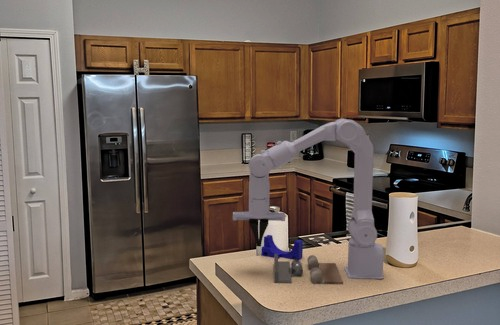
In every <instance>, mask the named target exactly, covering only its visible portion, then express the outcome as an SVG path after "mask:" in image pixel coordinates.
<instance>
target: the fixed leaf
mask: <svg viewBox="0 0 500 325" xmlns="http://www.w3.org/2000/svg"><path fill="white" fill-rule="evenodd" d="M306 262H307V265H308V269H310V272H309V274H310V278H311V281H312V282H313V284H315V285H343V284H344V281H343V279H342V276H341V273H340V271H339V269H338V266H337V264H336V263H335V262H319V260H318V258H317V256H316V255H313V254H312V255H309V256H308V257H307V260H306Z"/></svg>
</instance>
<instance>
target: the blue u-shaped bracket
mask: <svg viewBox="0 0 500 325" xmlns="http://www.w3.org/2000/svg"><path fill="white" fill-rule="evenodd" d="M273 237H274V236H273V235H271V234H268V235H265V236H263V246H261V257H262V256H263V257H265V256H266V257H268V258H272V259H274V254H278V260H279V259H280V258H283V259H288V260H292V261H294V260H299V261H301V259H303V250H304V249H303V245H304V241H303V239H297V240H295V241H294V242H293V247H292V249H291V250H289V251H285V250H282V249H280V248H279V247H278V246H277V245H276V243H275V242H274V238H273Z"/></svg>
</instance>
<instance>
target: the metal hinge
mask: <svg viewBox="0 0 500 325" xmlns="http://www.w3.org/2000/svg"><path fill="white" fill-rule="evenodd" d="M273 263H274V264H273V268H274V269H273V270H274V272H273V273H274V274H273V276H274V283H276V284H278V283H279V284H280V283H281V284H292V279H293V278H292V277H299V276H301V275H302V274H303V271H304V269H303V263H302V262H301V260H297V259H294V260H292V262H291V263H290V261H284V260H283V261H281V260H280V261H279V259H278V254H274V258H273Z"/></svg>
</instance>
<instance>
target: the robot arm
mask: <svg viewBox="0 0 500 325" xmlns="http://www.w3.org/2000/svg"><path fill="white" fill-rule="evenodd" d="M336 140H337V141H338V142H340V143H342V144H345V145H346V146H347V147H348V148H349V149H350V150H351V151H352V152H353V153H354V170H353V172H354V173H353V205H352V211H351V214H350V215H351V216H350V220H349V222H348V224H347V231H348V233H349V234H350V237H349V239H348V247H347V248H348V249H347V266H344V271H345V273H346V275H347V278H348V279H365V280H366V279H368V280H369V279H371V280H383V279H384V276H383V274H384V249H383V248H384V247H383V245H382V244H381V243H376V241H377V238H378V231H377V229H376V227H375V218H374V215H373V211H372V210H373V185H374V184H373V183H374V182H373V181H374V180H373V178H374V176H373V175H374V145H373V143H372V141H371V140H370V138H369V137H368V135H367V134H366V131H365V129H364V126H361V124H359V122H358V123H357V122H356V121H355V120H353V119H347V118H338V119H336V120H335V121H332V122H327V123H325V124H323V125H321V126H319V127H317V128H315V129H313V130H311V131H310V132H308V133H307V134H304V135H302V136H300V137H299V138H297V139H296V140H293V141H288V140H283V141H281V140H278V141H276V145H274V146H271V147H270V148H268V149H266V150H265V149H263V150H260V153H258V154H257V153H256V154H254V155H252V157H251V158H250V159H249V162H248V167H249V168H248V169H249V172H250V173H249V181H248V210H247V211H233V212H232V221H249V222H248V224H249V227H250V229H251V231H252V234H253V236H254V240H255V247H262V242H263V239H264V235H265V232H266V230H267V228H268V227H269V221H277V222H278V221H280V222H286V213H285V212H277V211H276V212H275V211H270V185H271V184H270V179H269V178H270V177H269V175H270V173H271V172H270V171H271V170H276V169H278V168H280V167H281V166H284V165H285V164H287V163H290V162H291V161H293V160H296V155H297V153H299V152H301V151H304V150H307V149H308V148H310V147H312V146H314V145H316V144H319V143H321V142H323V141H328V142H330V141H331V142H336Z"/></svg>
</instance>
